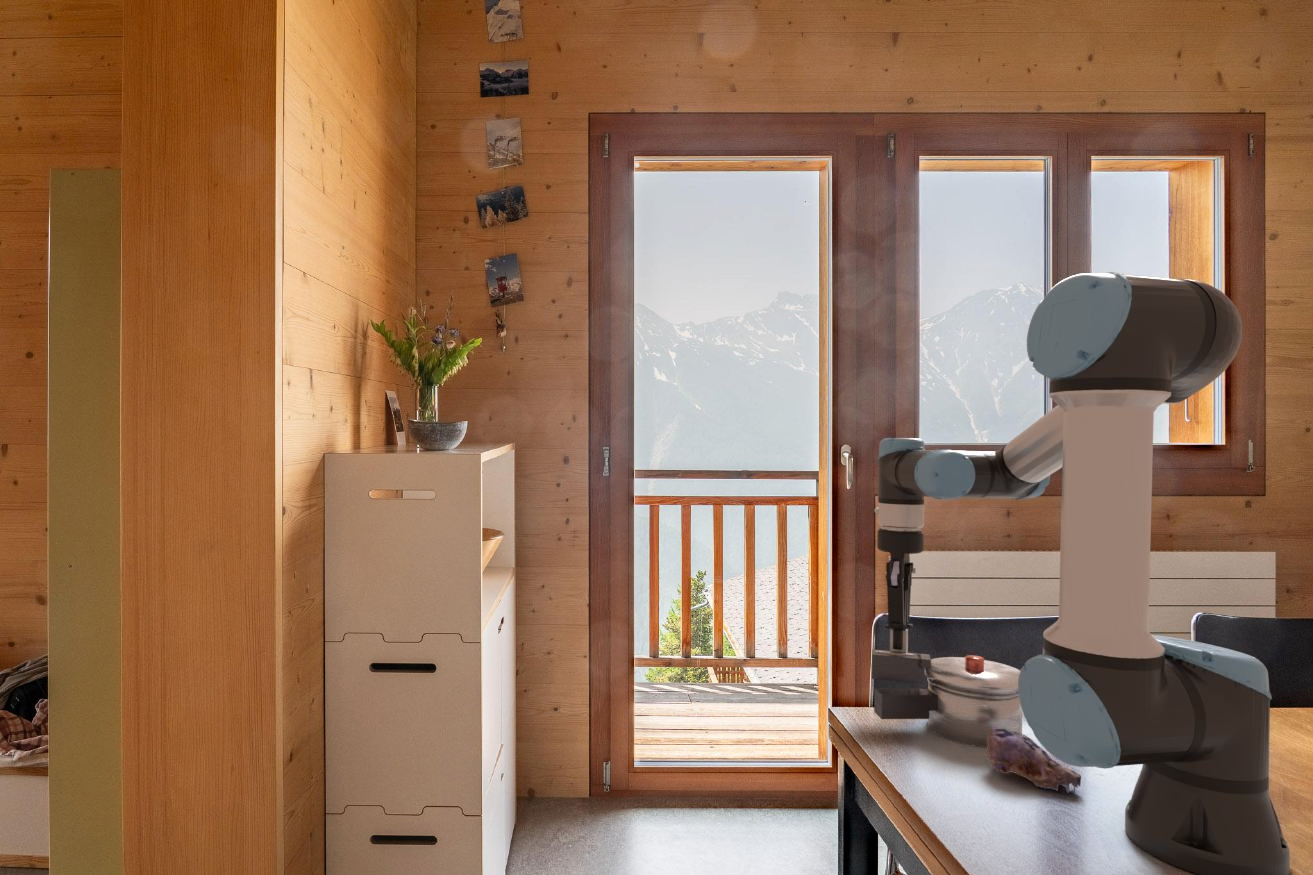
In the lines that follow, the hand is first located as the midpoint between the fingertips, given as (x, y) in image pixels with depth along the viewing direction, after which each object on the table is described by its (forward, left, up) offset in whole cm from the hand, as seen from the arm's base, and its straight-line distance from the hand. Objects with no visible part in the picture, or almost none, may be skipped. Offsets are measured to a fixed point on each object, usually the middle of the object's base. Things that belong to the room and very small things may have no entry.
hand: (898, 666), depth 126 cm
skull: (-25, -9, -9) cm, 28 cm away
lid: (-5, -6, -1) cm, 8 cm away
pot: (-7, -6, -8) cm, 12 cm away
